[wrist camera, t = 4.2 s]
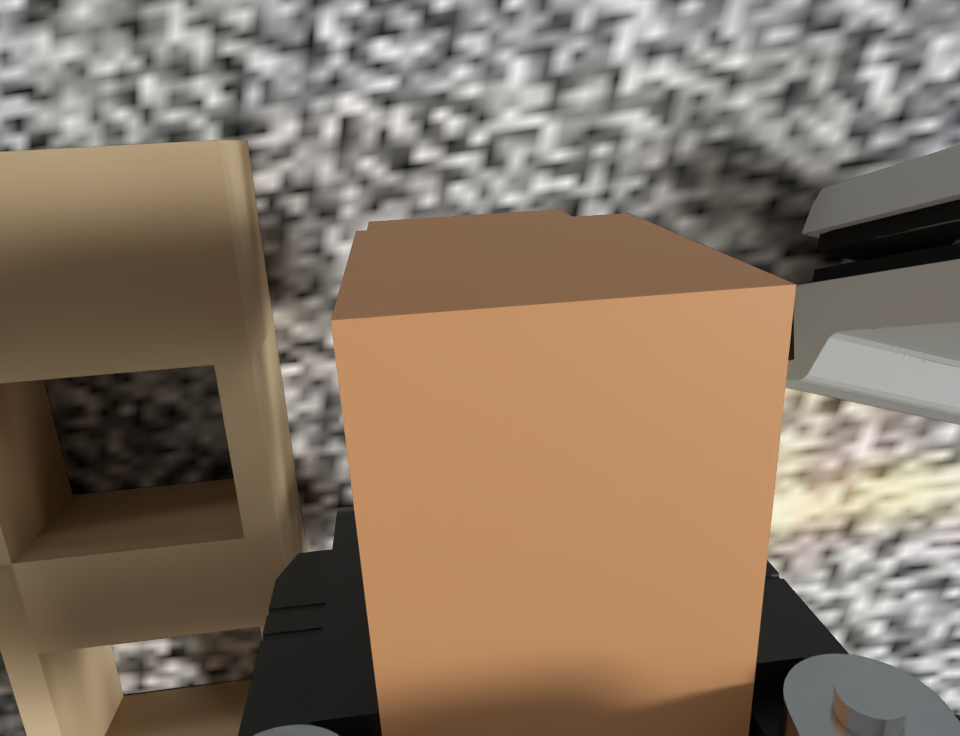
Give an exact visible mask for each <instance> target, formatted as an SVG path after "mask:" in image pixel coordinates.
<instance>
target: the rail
mask: <svg viewBox="0 0 960 736" xmlns="http://www.w3.org/2000/svg"><path fill="white" fill-rule="evenodd" d="M209 365H214V367H215V373H216V379H217V385H218V390H219V396H220V402H221V407H222V413H223V419H224V425H225V430H226V436H227V442H228V447H229V453H230V459H231V465H232V470H233V476H234V478H233V479H223V480H214V481H204V482H194V483H184V484H174V485H164V486H155V487H145V488H135V489H125V490H115V491H105V492H95V493H86V494H76V495H73V494H72V490H71V486H70V482H69V478H68V474H67V470H66V466H65V462H64V458H63V454H62V451H61V447H60V443H59V439H58V435H57V431H56V427H55V423H54V419H53V415H52V411H51V407H50V403H49V399H48V395H47V391H46V387H45V383H44V380H45V379H57V378H69V377H80V376H92V375H104V374H115V373H127V372H139V371H150V370H162V369H174V368H186V367H197V366H209ZM305 552H307V548H306V541H305V534H304V527H303V520H302V513H301V507H300V500H299V493H298V486H297V479H296V472H295V465H294V458H293V452H292V445H291V438H290V431H289V424H288V417H287V410H286V403H285V397H284V390H283V383H282V376H281V369H280V362H279V355H278V348H277V342H276V335H275V328H274V321H273V314H272V307H271V300H270V293H269V287H268V280H267V273H266V266H265V259H264V252H263V245H262V238H261V232H260V225H259V218H258V211H257V204H256V197H255V190H254V183H253V177H252V170H251V163H250V156H249V149H248V142H247V141H241V140H210V141H192V142H173V143H155V144H136V145H118V146H100V147H81V148H63V149H44V150H26V151H7V152H0V651H1V654H2V657H3V660H4V664H5V667H6V670H7V673H8V677H9V680H10V683H11V686H12V689H13V693H14V696H15V699H16V702H17V706H18V709H19V712H20V715H21V718H22V722H23V725H24V728H25V731H26V734H27V736H238V733H239V728H240V724H241V720H242V716H243V712H244V708H245V704H246V700H247V696H248V691H249V687H250V683H251V679H249V680H241V681H234V682H226V683H218V684H211V685H203V686H195V687H187V688H180V689H172V690H164V691H157V692H149V693H141V694H134V695H126V696H124V695H123V692H122V688H121V684H120V680H119V676H118V672H117V668H116V664H115V660H114V656H113V652H112V648H111V645H114V644H122V643H130V642H138V641H146V640H155V639H163V638H171V637H179V636H187V635H195V634H203V633H212V632H220V631H228V630H236V629H244V628H252V627H260V630H261V636H262V640H263V635H262V634H263V630H264V626H265V621H266V617H267V615H269V605H270V601H271V597H272V593H273V589H274V584H275V580H276V579H277V578H278V576H279V575H280V574H281V573H282V572H283V571H284V569H285V568H286V567H287V566H288V565H289V564H290V562H291V561H292V560H293V559H294V558H295V557H296V555H297V554H298V553H305Z"/></svg>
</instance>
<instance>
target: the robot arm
mask: <svg viewBox="0 0 960 736" xmlns="http://www.w3.org/2000/svg"><path fill="white" fill-rule="evenodd" d="M262 635H263V640H262V641H261V642H260V646H259V650H258V654H257V659H256V663H255V667H254V671H253V675H252V679H251V683H250V687H249V691H248V696H247V700H246V704H245V708H244V712H243V716H242V720H241V724H240V728H239V733H238V736H382V731H381V723H380V715H379V706H378V698H377V690H376V682H375V674H374V666H373V658H372V650H371V641H370V633H369V625H368V617H367V609H366V601H365V593H364V585H363V577H362V568H361V560H360V552H359V544H358V536H357V528H356V520H355V512H354V509H347V510H338V512H337V517H336V525H335V533H334V541H333V549H332V550H323V551H314V552H305V553H298V554H297V555H296V557H295V558H294V559H293V560H292V561H291V562H290V564H289V565H288V566H287V567H286V568H285V569H284V571H283V572H282V573H281V574H280V575H279V576H278V578H277V579H276V580H275V584H274V589H273V593H272V597H271V601H270V605H269V615H267V617H266V621H265V626H264V630H263V634H262ZM749 736H960V716H959V715H954V714H953V712H952V711H951V710H950V708H949V707H948V706H947V705H946V704H945V702H944V701H943V700H942V699H941V698H940V697H939V696H938V695H937V694H936V693H935V692H933V691H932V690H931V689H930V688H929V687H927V686H926V685H925V684H923V683H922V682H921V681H919V680H918V679H916V678H914V677H913V676H911V675H909V674H908V673H906V672H904V671H902V670H900V669H898V668H895V667H893V666H891V665H889V664H886V663H883V662H880V661H878V660H874V659H870V658H866V657H863V656H856V655H850V654H848V652H847V651H846V650H845V649H844V648H843V647H842V645H841V644H840V643H839V642H838V641H837V640H836V639H835V637H834V636H833V635H832V634H831V633H830V632H829V631H828V629H827V628H826V627H825V626H824V625H823V624H822V622H821V621H820V620H819V619H818V618H817V617H816V616H815V614H814V613H813V612H812V611H811V610H810V609H809V607H808V606H807V605H806V604H805V603H804V602H803V601H802V599H801V598H800V597H799V596H798V595H797V594H796V593H795V591H794V590H793V589H792V588H791V587H790V586H789V584H788V583H787V582H786V581H785V580H784V579H780V578H779V573H778V572H777V571H776V570H775V568H774V567H773V566H772V565H771V564H770V563H769V561H768V560H767V565H766V575H765V584H764V594H763V603H762V613H761V622H760V632H759V641H758V651H757V660H756V670H755V679H754V688H753V698H752V707H751V717H750V726H749Z"/></svg>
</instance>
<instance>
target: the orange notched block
mask: <svg viewBox="0 0 960 736" xmlns="http://www.w3.org/2000/svg"><path fill="white" fill-rule="evenodd" d="M795 291H796V284H794V283H792V282H789V281H787V280H785V279H782V278H780V277H778V276H775V275H773V274H770V273H768V272H766V271H763V270H761V269H759V268H756V267H754V266H752V265H749V264H747V263H745V262H742V261H740V260H738V259H735V258H733V257H731V256H728V255H726V254H724V253H721V252H719V251H716V250H714V249H712V248H709V247H707V246H705V245H702V244H700V243H698V242H695V241H693V240H691V239H688V238H686V237H684V236H681V235H679V234H677V233H674V232H672V231H670V230H667V229H665V228H662V227H660V226H658V225H655V224H653V223H651V222H648V221H646V220H644V219H641V218H639V217H637V216H634V215H632V214H630V213H625V214H609V215H594V216H579V217H572V216H570V215H568V214H566V213H565V212H563V211H561V210H560V209H559V210H543V211H528V212H512V213H497V214H482V215H466V216H451V217H435V218H420V219H404V220H389V221H374V222H369V224H368V229H367V231H356V233H355V237H354V240H353V244H352V248H351V251H350V255H349V258H348V262H347V265H346V269H345V272H344V276H343V279H342V283H341V287H340V290H339V294H338V297H337V301H336V304H335V308H334V311H333V315H332V318H331V325H332V333H333V341H334V349H335V357H336V366H337V374H338V382H339V390H340V398H341V406H342V414H343V422H344V430H345V439H346V447H347V455H348V463H349V471H350V479H351V487H352V495H353V503H354V512H355V520H356V528H357V536H358V544H359V552H360V560H361V568H362V577H363V585H364V593H365V601H366V609H367V617H368V625H369V633H370V641H371V650H372V658H373V666H374V674H375V682H376V690H377V698H378V706H379V715H380V723H381V731H382V736H749V726H750V717H751V707H752V698H753V688H754V679H755V670H756V660H757V651H758V641H759V632H760V622H761V613H762V603H763V594H764V584H765V575H766V565H767V556H768V546H769V537H770V527H771V518H772V509H773V499H774V490H775V480H776V471H777V461H778V452H779V442H780V433H781V423H782V414H783V404H784V395H785V385H786V376H787V367H788V357H789V348H790V338H791V329H792V319H793V310H794V300H795Z"/></svg>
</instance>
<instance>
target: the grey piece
mask: <svg viewBox="0 0 960 736" xmlns="http://www.w3.org/2000/svg"><path fill="white" fill-rule="evenodd" d="M802 234H805V235H808V236H812V237H815V238H819V243H818V251H820V252H824V253H828V254H832V255H835V256H839V257H843V258H847V259H851V260H855V261H858V262H852V263H847V264H841V265H836V266H830V267H825V268H819V269H815V270H814V276H813V282H812V283H808V284H802V285H796V291H795V300H794V360H788V367H787V376H786V385H785V387H786V388H791V389H796V390H800V391H805V392H810V393H814V394H819V395H824V396H828V397H833V398H838V399H842V400H847V401H852V402H856V403H861V404H866V405H870V406H875V407H880V408H884V409H889V410H894V411H898V412H903V413H908V414H912V415H917V416H922V417H926V418H931V419H936V420H941V421H945V422H950V423H955V424H959V425H960V145H957V146H954V147H951V148H948V149H945V150H941V151H938V152H935V153H932V154H929V155H926V156H923V157H919V158H916V159H913V160H910V161H907V162H904V163H900V164H897V165H894V166H891V167H888V168H885V169H881V170H878V171H875V172H872V173H869V174H866V175H863V176H859V177H856V178H853V179H850V180H847V181H844V182H840V183H837V184H834V185H831V186H828V187H825V188H822V189H821V191H820V193H819V194H818V196H817V198H816V199H815V201H814V202H813V204H812V207H811V209H810V212H809V215H808V217H807V220H806V223H805V225H804V228H803V231H802Z"/></svg>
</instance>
